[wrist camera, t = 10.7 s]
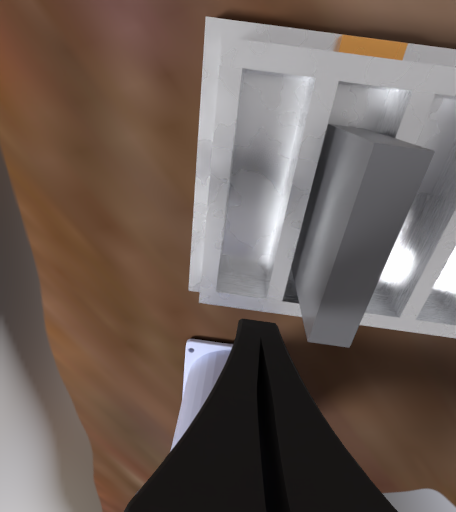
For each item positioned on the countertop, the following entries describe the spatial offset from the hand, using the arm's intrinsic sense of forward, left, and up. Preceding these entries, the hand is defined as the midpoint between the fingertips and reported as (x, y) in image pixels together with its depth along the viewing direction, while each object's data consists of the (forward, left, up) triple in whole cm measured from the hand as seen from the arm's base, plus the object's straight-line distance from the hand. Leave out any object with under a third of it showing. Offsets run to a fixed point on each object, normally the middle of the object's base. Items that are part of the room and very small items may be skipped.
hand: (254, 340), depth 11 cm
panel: (+3, -4, -9) cm, 11 cm away
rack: (+3, -6, -10) cm, 12 cm away
